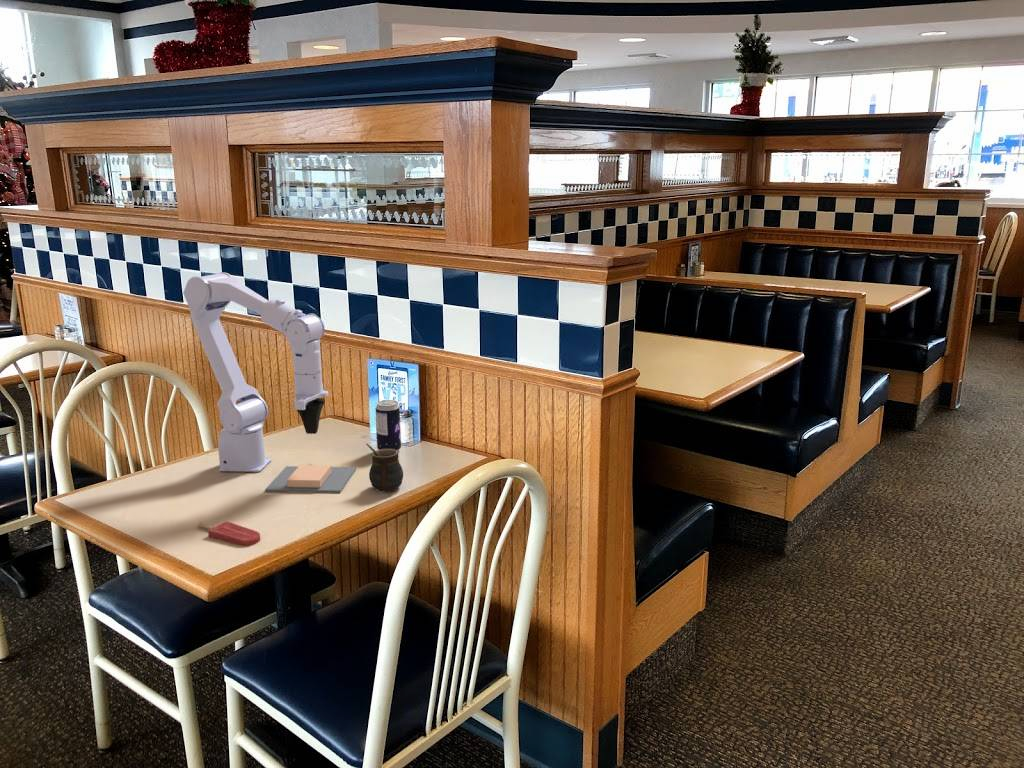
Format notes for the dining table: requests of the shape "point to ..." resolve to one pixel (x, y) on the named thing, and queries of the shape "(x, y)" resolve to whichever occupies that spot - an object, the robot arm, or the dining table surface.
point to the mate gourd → (385, 470)
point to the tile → (309, 476)
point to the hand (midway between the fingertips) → (311, 432)
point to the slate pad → (331, 485)
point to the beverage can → (388, 425)
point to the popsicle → (233, 533)
